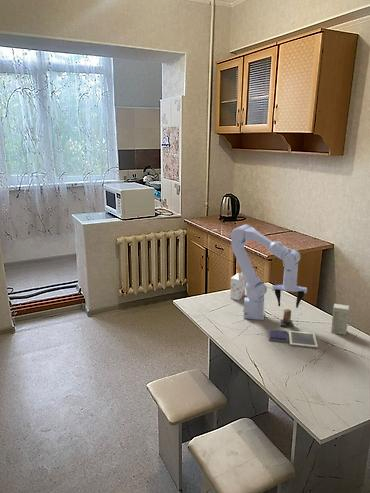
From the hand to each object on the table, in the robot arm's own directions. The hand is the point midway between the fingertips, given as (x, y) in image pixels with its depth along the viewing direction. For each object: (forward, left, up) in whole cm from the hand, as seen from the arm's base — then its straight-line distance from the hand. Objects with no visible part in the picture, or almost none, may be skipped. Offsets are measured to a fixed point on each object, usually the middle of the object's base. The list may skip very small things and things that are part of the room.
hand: (288, 306), depth 166 cm
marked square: (+6, -12, -9) cm, 16 cm away
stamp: (0, 0, -9) cm, 9 cm away
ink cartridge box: (-24, +26, -10) cm, 37 cm away
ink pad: (-4, -12, -9) cm, 16 cm away
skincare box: (+22, -2, -10) cm, 24 cm away
